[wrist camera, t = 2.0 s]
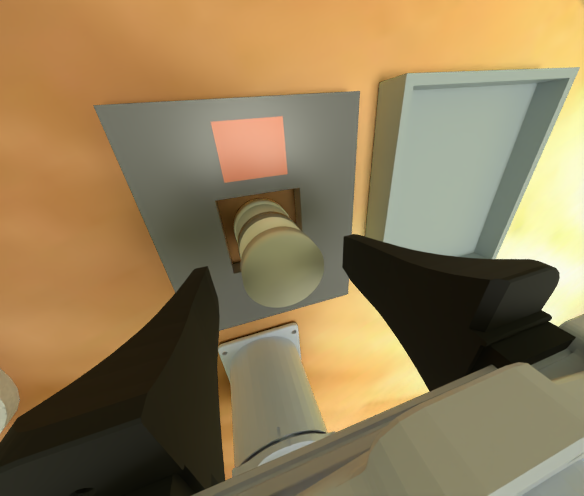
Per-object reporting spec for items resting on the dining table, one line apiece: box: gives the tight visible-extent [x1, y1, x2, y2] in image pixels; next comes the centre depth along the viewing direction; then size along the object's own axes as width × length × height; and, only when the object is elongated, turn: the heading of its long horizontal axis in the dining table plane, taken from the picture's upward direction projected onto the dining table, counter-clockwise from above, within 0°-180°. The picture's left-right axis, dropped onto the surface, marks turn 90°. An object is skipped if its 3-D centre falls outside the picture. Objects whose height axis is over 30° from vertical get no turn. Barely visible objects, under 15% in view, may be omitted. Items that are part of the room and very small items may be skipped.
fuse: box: [234, 198, 324, 308], centre depth 14 cm, size 4×4×7 cm
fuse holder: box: [93, 91, 360, 331], centre depth 16 cm, size 16×14×2 cm
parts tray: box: [365, 67, 580, 259], centre depth 19 cm, size 17×15×2 cm
